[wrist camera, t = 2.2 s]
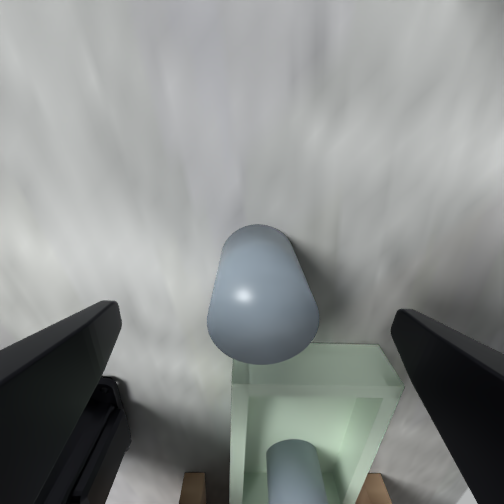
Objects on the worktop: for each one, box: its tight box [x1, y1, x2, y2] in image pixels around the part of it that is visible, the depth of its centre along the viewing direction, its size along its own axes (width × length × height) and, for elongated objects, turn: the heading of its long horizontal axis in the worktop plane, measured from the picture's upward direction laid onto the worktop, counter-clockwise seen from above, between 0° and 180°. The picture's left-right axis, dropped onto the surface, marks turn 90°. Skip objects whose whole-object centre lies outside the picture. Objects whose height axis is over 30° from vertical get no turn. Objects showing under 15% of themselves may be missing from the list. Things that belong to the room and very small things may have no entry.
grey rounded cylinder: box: [207, 224, 319, 365], centre depth 10 cm, size 3×3×4 cm
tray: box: [229, 343, 405, 504], centre depth 15 cm, size 8×12×3 cm, turn 177°
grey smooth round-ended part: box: [266, 439, 328, 504], centre depth 15 cm, size 3×3×4 cm
